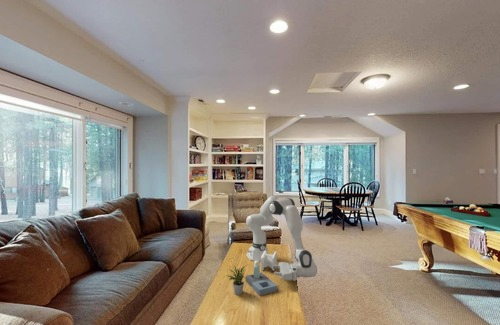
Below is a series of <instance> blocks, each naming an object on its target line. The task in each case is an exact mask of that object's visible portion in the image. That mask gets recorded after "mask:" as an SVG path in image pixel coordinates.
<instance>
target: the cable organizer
mask: <svg viewBox="0 0 500 325" xmlns="http://www.w3.org/2000/svg"><path fill="white" fill-rule="evenodd" d="M277 252H278V251H275V250H274V253H273V254H270V253H268V254H267V251H264V252H263V254H262V256H261V261H260V271H261V270H262V271H264V270H265V269H268V267H269V269H271V270H272V271H273V272H275V270H276V269H273V266H276V265H278V263H277V261H278V253H277Z"/></svg>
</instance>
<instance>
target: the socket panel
mask: <svg viewBox="0 0 500 325" xmlns="http://www.w3.org/2000/svg"><path fill="white" fill-rule="evenodd" d="M244 280H245V282H246V283H247V284H248V285H249V287H251V288H252V290H253V291H254V292H255V293H256V294H257V295H258V296H263V295H268V294H270V293H271V294H272V293H275V292H278V285H277V284H276V283H275V282H274V281H273V280H272V279H270V278H269V277H268V276H267V275H265V274H264V273H263V272H261V271H260V278H259V279H254V273H252V274H248V275H244Z"/></svg>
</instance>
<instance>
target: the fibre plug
mask: <svg viewBox="0 0 500 325" xmlns="http://www.w3.org/2000/svg"><path fill="white" fill-rule="evenodd" d="M260 273H261V265H260V261H254V264H253V274H254V279H259V278H260Z"/></svg>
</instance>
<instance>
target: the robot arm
mask: <svg viewBox="0 0 500 325" xmlns="http://www.w3.org/2000/svg"><path fill="white" fill-rule="evenodd" d="M259 210H260V211H259V213H252V214H250V215H247V217H246V218H245V219H246V220H245V223H246V225H247V226H248V228H250V229H251V231H252V238H253V239H252V243H251V245H250V247H249V248H248V250H247V253H246V254H245V255H246V256H247V258H248V260H249V261H254V262H255V261H259V262H261V256H262V254H263V252H264V251H267V254H269V250H268V247H267V244H268V243H267V233H266V232H265V231H264V230H262V227H265V226H268V225H271V224H273V221H274V217H273V215H277V216H281V215H284V218H285V221H286V225H287V228H288V230H289V232H290V234H291V237H292V241H293V246H294V259H295V261H296V262H297V263H290V262H286V261H279V262H278V264H277V265H276V266H273V269H275V270H276V269H278V270H279V272H278V271H273V273H274V274H273V275H274V276H278V277H281V279H282V280H284V281H294V282H295V281H297V278H314V277H316V276H317V274H318V266H317V264H316V263H315V262H314V259H313V256H312V253H311V252H310V251H309V250H307V249H306V248H305V247H304V244H303V240H302V232H303V229H304V227H303V221H302V220H303V219H302V217H301V214H300V211H299V209H298V208H297V206H296V203H295V200H293V198H291V197H285V198H279V197H278V196H276V195H271V196H269V197H268V198H267V199H266V200H265V201H264V203H262V205H261V207H260V209H259Z"/></svg>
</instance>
